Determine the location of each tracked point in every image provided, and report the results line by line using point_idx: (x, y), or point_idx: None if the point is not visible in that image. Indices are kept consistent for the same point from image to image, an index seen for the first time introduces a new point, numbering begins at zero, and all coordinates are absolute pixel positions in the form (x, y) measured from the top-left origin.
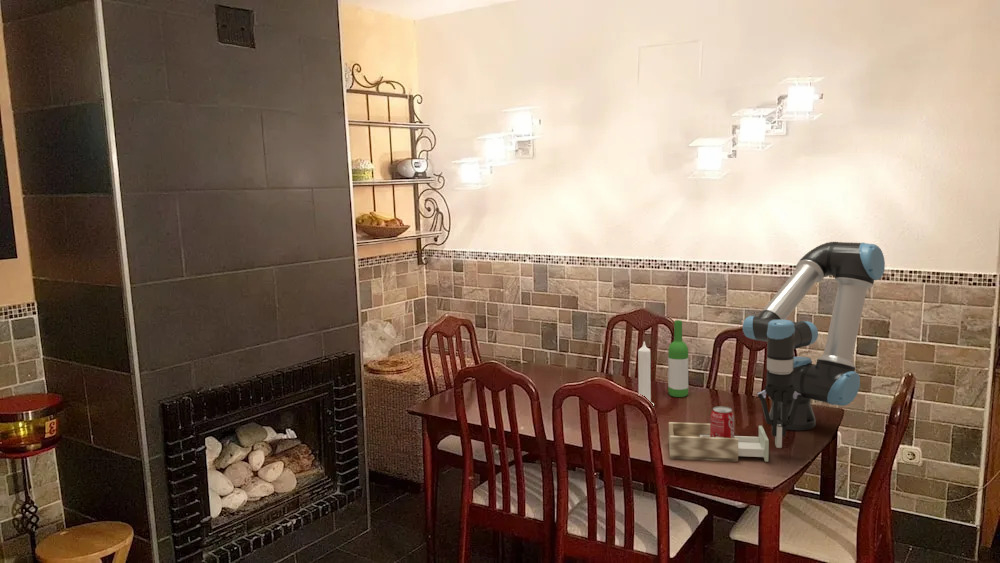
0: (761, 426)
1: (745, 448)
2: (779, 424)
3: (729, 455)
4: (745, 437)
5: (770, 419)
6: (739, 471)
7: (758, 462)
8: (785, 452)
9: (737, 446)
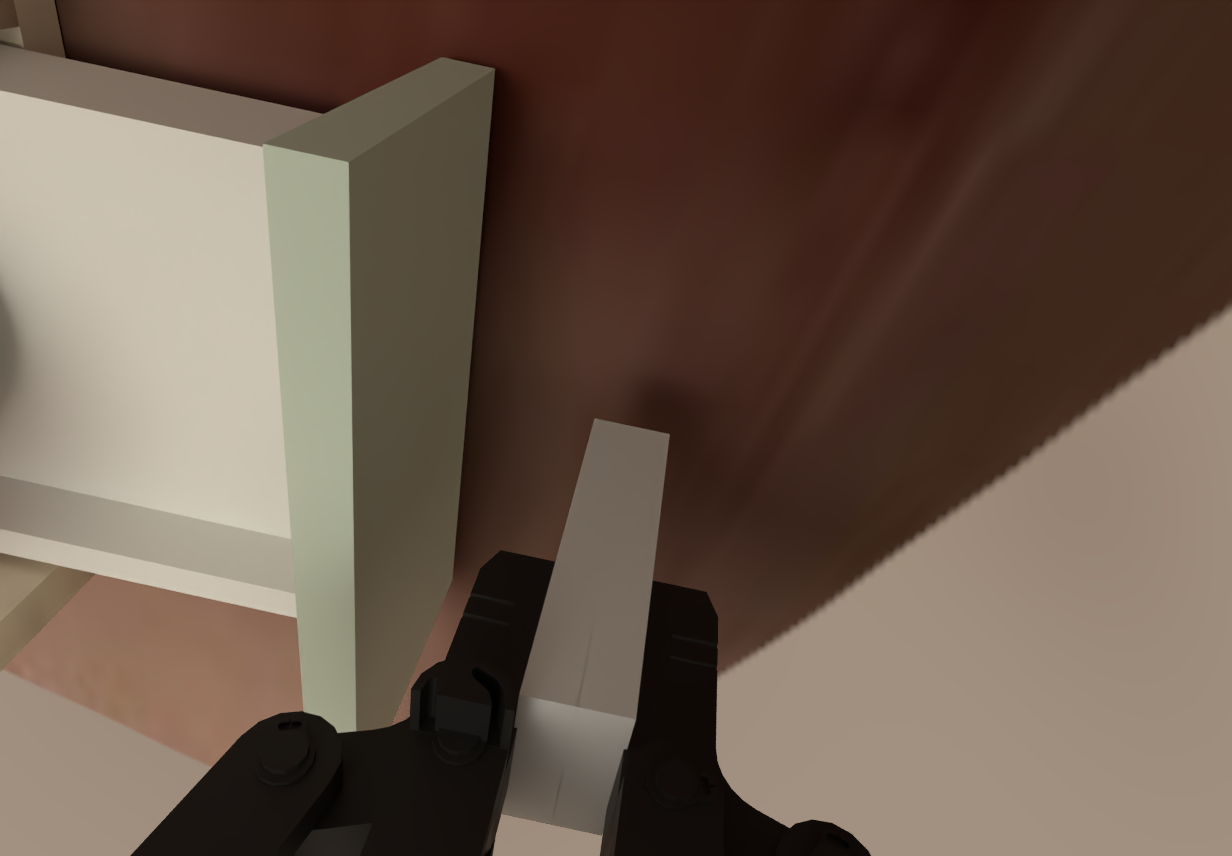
0: (326, 230)
1: (143, 578)
2: (608, 719)
3: None
4: (125, 162)
5: (338, 832)
6: (175, 671)
7: None
8: (778, 322)
9: (17, 643)
